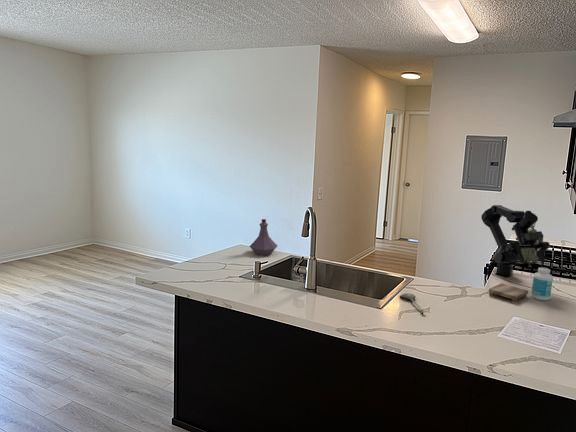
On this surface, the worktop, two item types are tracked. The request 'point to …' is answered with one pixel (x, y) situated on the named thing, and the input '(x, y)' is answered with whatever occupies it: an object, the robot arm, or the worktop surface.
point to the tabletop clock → (531, 250)
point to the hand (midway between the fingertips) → (533, 263)
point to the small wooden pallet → (508, 292)
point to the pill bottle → (542, 284)
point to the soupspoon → (411, 297)
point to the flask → (263, 241)
